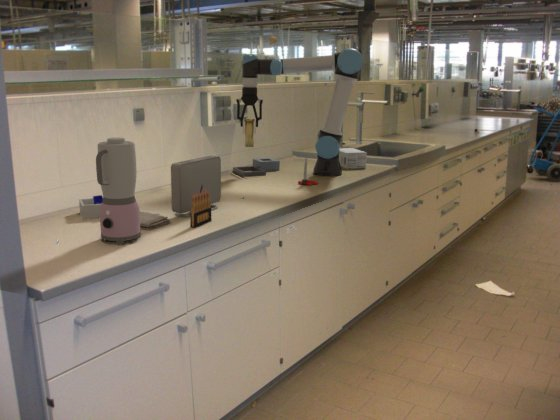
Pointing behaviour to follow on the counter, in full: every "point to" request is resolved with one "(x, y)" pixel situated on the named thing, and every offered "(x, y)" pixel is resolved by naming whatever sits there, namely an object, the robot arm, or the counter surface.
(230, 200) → the counter surface
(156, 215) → the washcloth
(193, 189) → the network device
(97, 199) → the cable clip
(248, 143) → the amber glass vase
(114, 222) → the blender
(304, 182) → the red base upright rod
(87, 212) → the box
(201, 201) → the ammunition clip
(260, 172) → the tray
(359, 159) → the supplement box
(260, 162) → the block
